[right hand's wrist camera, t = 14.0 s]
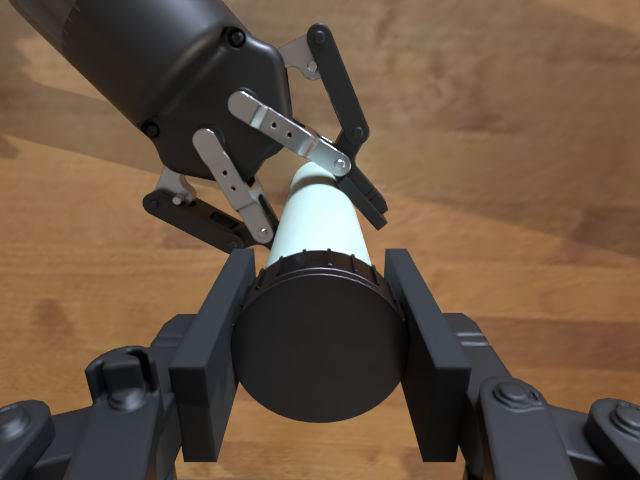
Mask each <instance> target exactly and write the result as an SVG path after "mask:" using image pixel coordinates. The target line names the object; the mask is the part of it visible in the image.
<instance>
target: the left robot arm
mask: <svg viewBox="0 0 640 480" xmlns="http://www.w3.org/2000/svg"><path fill="white" fill-rule="evenodd" d="M8 1H9V2H10V3H11V4H12V6H13V7H14V8H15V9H16V10H17V11H18V12H19V13H20V14H21V15H22V17H23V18H24V19H25V20H26V21H27V22H28V23H29V24H30V25H31V26H32V27H33V28H34V29H35V30H36V31H37V32H38V33H40V34H41V35H42V36H43V37H44V38H45V39H46V40H47V41H48V42H49V43H50V44H51V45H52V46H53V47H54V48H55V49H56V50H57V51H58V52H59V53H60V54H61V55H62V56H63V57H64V58H65V59H66V60H67V61H68V62H69V63H70V64H71V65H73V66H74V67H75V68H76V69H77V70H78V71H79V72H80V73H81V74H82V75H83V76H84V77H85V78H86V79H87V80H88V81H89V82H90V83H91V84H92V85H93V86H94V87H95V88H96V89H97V90H98V91H99V92H100V93H101V94H102V95H103V96H105V97H106V98H107V99H108V100H109V101H110V102H111V103H112V104H113V105H114V106H115V107H116V108H117V109H118V110H119V111H120V112H121V113H122V114H123V115H124V116H125V117H126V118H127V119H128V120H129V121H130V122H131V123H132V124H133V125H134V126H136V127H137V128H138V129H139V130H140V131H142V132H143V133H144V134H145V135H146V136H148V137H149V138H150V139H151V141H152V142H153V144H154V145H155V147H156V149H157V151H158V154H159V156H160V159H161V161H162V163H163V164H164V165H165V167H164V170H163V172H162V174H161V176H160V179H159V181H158V183H157V186H156V188H155V190H154V191H153V192H151V193H149V194H148V195H146V196H145V197H144V199H143V207H144V209H145V210H146V211H147V212H148V213H150V214H151V215H153V216H155V217H157V218H159V219H161V220H163V221H165V222H167V223H169V224H171V225H173V226H175V227H177V228H179V229H181V230H183V231H185V232H187V233H189V234H190V235H192V236H194V237H196V238H198V239H200V240H202V241H204V242H206V243H208V244H210V245H212V246H214V247H216V248H218V249H220V250H222V251H224V252H226V253H228V254H231V252H232V250H233V249H245V248H247V247H250V246H253V245H263V246H266V247H267V248H268V249H269V250H270V251H271V249H272V245H273V242H274V239H275V236H276V232H277V229H278V226H279V223H280V222H279V221H278V219H277V216H276V214H275V213H274V211H273V209H272V207H271V205H270V203H269V202H268V200H267V198H266V196H265V194H264V192H263V188H262V185H261V183H260V181H259V179H258V178H257V176H256V172H257V171H258V170H259V169H260V167H261V166H262V164H263V163H264V161H265V159H267V158H269V157H271V156H273V155H275V154H277V153H278V152H279V151H280V150H281V149H282V148H283V147H284V146H285V147H287V148H288V149H290V150H292V151H293V152H295V153H297V154H298V155H300V156H302V157H305V158H307V159H309V160H311V161H312V162H314V163H315V164H317V165H319V166H320V167H322V168H324V169H325V170H327V171H328V172H330V173H332V174H333V176H334V177H335V180H336V185H337V186H338V187H339V188H340V190H341V191H342V192H343V193H344V194H345V195H346V196H347V197H348V198H349V199H350V201H351V202H352V203H353V204H354V205H355V206H356V207H357V208H358V209H359V211H360V212H361V213H362V214H363V215H364V216H365V217H366V218H367V219H368V221H369V222H370V223H371V224H372V225H373V226H374V227H375V228H376V229H377V230H380V229H381V228H382V227H383V226H385V225H386V224H387V223H388V222H387V220H386V218H385V217H384V215H383V214H384V213H385V212H386V211H387V210H388V208H387V205H386V201H385V200H384V198H383V196H382V195H381V194H380V192H379V191H378V190H377V189H376V188H375V187H374V185H373V184H372V183H371V182H370V181H369V180H368V179H367V177H366V176H365V175H364V174H363V173H362V172H361V171H360V169H359V168H358V167H357V166H356V164H355V158H356V155H357V153H358V151H359V149H360V147H361V145H362V144H363V143H364V142H365V141H366V140H367V139H368V137H369V127H368V125H367V122H366V120H365V117H364V115H363V112H362V109H361V107H360V104H359V102H358V99H357V97H356V94H355V92H354V89H353V87H352V84H351V82H350V79H349V77H348V74H347V71H346V69H345V66H344V64H343V61H342V59H341V56H340V54H339V51H338V49H337V46H336V44H335V41H334V38H333V36H332V33H331V31H330V29H329V28H328V27H327V26H326V25H324V24H321V23H317V24H314V25H312V26H311V27H310V28H309V30H308V32H307V34H306V35H304V36H302V37H300V38H298V39H296V40H294V41H292V42H290V43H288V44H286V45H284V46H282V47H280V48H278V49H276V48H275V47H273V46H272V45H270V44H268V43H265V42H262V41H260V40H258V39H256V38H255V37H253V36H252V35H251V34H250V32H249V31H248V30H247V29H246V28H245V27H244V26H243V24H242V23H241V22H240V21H239V20H238V19H237V17H236V16H235V15H234V14H233V13H232V12H231V10H230V9H229V8H228V7H227V6H226V5H225V3H224V2H223V1H222V0H8ZM289 67H296V68H298V69H299V70H301V72H302V73H303V75H304V76H305V77H306V78H307V79H309V80H317V79H319V78H321V79H322V81H323V84H324V86H325V88H326V91H327V93H328V96H329V98H330V100H331V103H332V105H333V108H334V110H335V112H336V115H337V117H338V120H339V122H340V124H341V127H342V130H341V132H340V134H339V135H338V137H337V139H336V141H335V143H333V142H332V141H330V140H328V139H327V138H325V137H324V136H322V135H321V134H319V133H318V132H317V131H315V130H314V129H312V128H311V127H309V126H308V125H306V124H305V123H303V122H302V121H300V120H298V119H297V118H295V117H294V116H293V114H292V106H291V98H290V90H289V82H288V74H287V68H289ZM185 175H188V176H193V177H198V178H203V179H208V180H213V181H217V182H218V184H219V186H220V188H221V189H222V191H223V193H224V194H225V196H226V198H227V200H228V201H229V203H230V205H231V206H232V208H233V209H234V210H235V211H236V212H238V213H239V214H240V216H241V218H242V219H243V221H244V222H241V221H240V220H238V219H236V218H234V217H232V216H230V215H228V214H226V213H225V212H223V211H221V210H219V209H217V208H215V207H213V206H211V205H210V204H208V203H206V202H204V201H202V200H200V199H198V198H196V196H197V195H196V190H195V189H194V187H192V186H191V185H190V184H189V183H188V182H187V181H186V178H185ZM233 186H235V187H236V188H234V187H233Z"/></svg>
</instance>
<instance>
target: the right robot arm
mask: <svg viewBox="0 0 640 480" xmlns="http://www.w3.org/2000/svg"><path fill="white" fill-rule="evenodd" d="M255 279H256V272H255V257H254V249H233V250H232V252H231V254H230V256H229V258H228V259H227V261H226V263H225V265H224V267H223V269H222V270H221V272H220V274H219V276H218V278H217V279H216V281H215V283H214V285H213V287H212V288H211V290H210V292H209V294H208V296H207V297H206V299H205V301H204V303H203V305H202V306H201V308H200V310H199V312H198V314H178V315H176V316H175V317H173V318H172V319H171V320H169V321H168V322H166V323H165V324H164V325H163V327H162V328H161V330H160V331H159V333H158V334H157V337H155V339H154V340H153V342H152V343H151V346H150V347H149V348H146V347H142V346H125V347H121V348H117V349H113V350H111V351H109V352H106V353H104V354H102V355H100V356H99V357H97V358H96V359H95V360H93V361H92V362H91V363H90V364H89V365H88V367H87V368H86V369H85V370H84V371H85V375H86V378H87V382H88V386H89V389H90V393H91V397H92V401H93V404H92V406H89V407H86V408H83V409H79V410H74V411H70V412H66V413H61V414H57V415H53V416H52V415H51V412H50V409H49V407H48V406H47V405H46V404H45V403H44V402H43V401H37V400H27V401H19V402H16V403H13V404H10V405H7V406H4V407H2V408H0V480H177V476H176V469H175V464H174V463H175V460H176V458H177V455H178V452H179V450H180V447H181V446H182V452H183V458H184V462H217V459H218V455H219V451H220V448H221V444H222V441H223V437H224V434H225V430H226V426H227V423H228V419H229V416H230V412H231V408H232V405H233V401H234V398H235V394H236V391H237V387H238V383H239V379H238V377H237V375H236V373H235V370H234V367H233V364H232V355H231V337H232V332H233V329H234V328H233V323H234V321H235V318H236V315H237V313H238V310H239V306H240V303H241V301H242V298H243V295H244V293H245V290H246V287H247V286H248V285H250V286H251V284H252V283H253V282H254V280H255ZM384 279H385V280H386V282H387V281H388V280H389V282H390V283H391V286H392V289H393V291H394V294H395V297H396V299H398V300H399V302H400V305H401V308H402V310H403V313H404V315H405V318H406V321H407V322H406V323H404V324H405V326H406V330H407V333H408V339H409V352H408V362H407V366H406V369H405V372H404V375H403V376H402V378H401V380H400V381H401V384H402V388H403V391H404V395H405V399H406V402H407V406H408V409H409V413H410V416H411V420H412V424H413V427H414V431H415V434H416V438H417V442H418V445H419V449H420V452H421V456H422V459H423V462H456V456H457V450H458V445H459V446H460V449H461V451H462V454H463V456H464V459H465V461H466V464H465V469H464V474H463V480H640V406H638V405H635V404H632V403H629V402H626V401H623V400H619V399H611V398H605V399H599V400H597V401H595V402H594V403H593V404H592V405H591V408H590V411H589V414H586V413H581V412H577V411H573V410H568V409H564V408H560V407H556V406H553V405H549V404H547V402H546V400H545V399H544V397H543V396H542V394H541V393H540V392H539V391H537V390H536V389H535V388H534V387H533V386H531V385H529V384H527V383H525V382H523V381H521V380H519V379H516V378H513V377H512V376H511V374H510V373H509V372H508V370H507V369H506V367H505V366H504V364H503V363H502V361H501V360H500V358H499V357H498V355H497V354H496V352H495V351H494V349H493V348H492V346H490V345H489V342H488V340H487V339H486V337H485V336H483V333H482V332H481V330H480V329H479V327H478V326H477V324H476V323H475V322H474V321H472V320H471V319H470V318H468V317H467V316H465V315H464V314H463V313H442V312H441V311H440V309H439V307H438V305H437V303H436V302H435V300H434V298H433V296H432V294H431V292H430V291H429V289H428V287H427V285H426V283H425V282H424V280H423V278H422V276H421V274H420V273H419V271H418V269H417V267H416V265H415V264H414V262H413V260H412V258H411V256H410V254H409V253H408V251H407V249H386V253H385V268H384Z"/></svg>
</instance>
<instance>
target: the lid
mask: <svg viewBox="0 0 640 480" xmlns="http://www.w3.org/2000/svg"><path fill="white" fill-rule="evenodd" d="M406 322H407V321H406V318H405V315H404V313H403V310H402V308H401V305H400V302H399V300H398V299H396V297H395V294H394V291H393V289H392V286H391V283H390V282H389V280H388V281H387V282H386V280H385V279H384V278H383V277H382V276H381V275H380V274H379V273H378V272H377V271H376V268H375V266H374V265H372V266H370V265H368V264H367V263H365V262H364V261H362V260H360V259H358V258H356V257H355V254H351V255H348V254H345V253H341V252H336V251H331V248H327V250H310V251H307V250H306V249H303V250H302V252H299V253H295V254H292V255H289V256H286V257H283V256H281V257H279V260H278V261H276V262H275V263H273V264H271V265H270V266H268V267H267V268H266V269H265V270H264V269H263V268H262V269H261V270H260V272H259V275H258V277H257V278H256V279H255V280H254V282H253V283H252V284H251V286H250V285H248V286H247V287H246V290H245V293H244V295H243V298H242V301H241V303H240V306H239V310H238V313H237V315H236V318H235V321H234V323H233V328H234V329H233V332H232V337H231V355H232V364H233V367H234V370H235V373H236V375H237V377H238V379H239V381H240V383H241V384H242V386H243V387H244V388H245V390H246V391H247V392H248V393H249V394H250V395H251V396H252V397H253V398H254V399H255V400H256V401H257V402H258V403H260V404H261V405H263V406H264V407H266V408H267V409H269V410H271V411H273V412H275V413H276V414H279V415H281V416H284V417H286V418H290V419H294V420H297V421H303V422H312V423H329V422H336V421H342V420H346V419H350V418H353V417H356V416H358V415H361V414H363V413H365V412H367V411H369V410H371V409H372V408H374V407H376V406H377V405H379V404H380V403H381V402H382V401H384V400H385V399H386V398H387V397H388V396H389V395H390V394H391V393H392V392H393V391H394V389H395V388H396V386H397V385H398V384H399V382H400V380H401V378H402V376H403V375H404V372H405V369H406V366H407V362H408V352H409V339H408V333H407V330H406V326H405V324H404V323H406Z"/></svg>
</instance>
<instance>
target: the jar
mask: <svg viewBox="0 0 640 480" xmlns="http://www.w3.org/2000/svg"><path fill="white" fill-rule="evenodd" d="M327 248H331V251H336V252H341V253H345V254H348V255H351V254H355V257H356V258H358V259H360V260H362V261H364V262H365V263H367V264H368V265H370V266H372V265H371V262H370V259H369V255H368V252H367V249H366V245H365V242H364V239H363V236H362V232H361V229H360V226H359V222H358V219H357V216H356V212H355V209H354V206H353V203H352V202H351V201H350V199H349V198H348V197H347V196H346V195H345V194H344V193H343V192H342V191H341V190H340V188H339V187H338V186H337V185H336V180H335V177H334V176H333V174H332V173H330V172H328V171H327V170H325V169H324V168H322V167H320V166H319V165H317V164H315V163H314V162H309V163H307V164H305V165H303V166H302V167H301V168H300V169H299V170H298V171H297V172H296V174H295V175H294V177H293V180H292V183H291V187H290V190H289V193H288V196H287V200H286V203H285V206H284V209H283V213H282V216H281V219H280V223H279V226H278V229H277V232H276V236H275V239H274V242H273V245H272V249H271V252H270V255H269V258H268V262H267V265H266V268H267V267H268V266H270V265H271V264H273V263H275V262H276V261H278V260H279V257H281V256H283V257H286V256H289V255H292V254H295V253H299V252H302V250H303V249H306V250H307V251H310V250H327ZM266 268H265V269H266Z"/></svg>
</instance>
